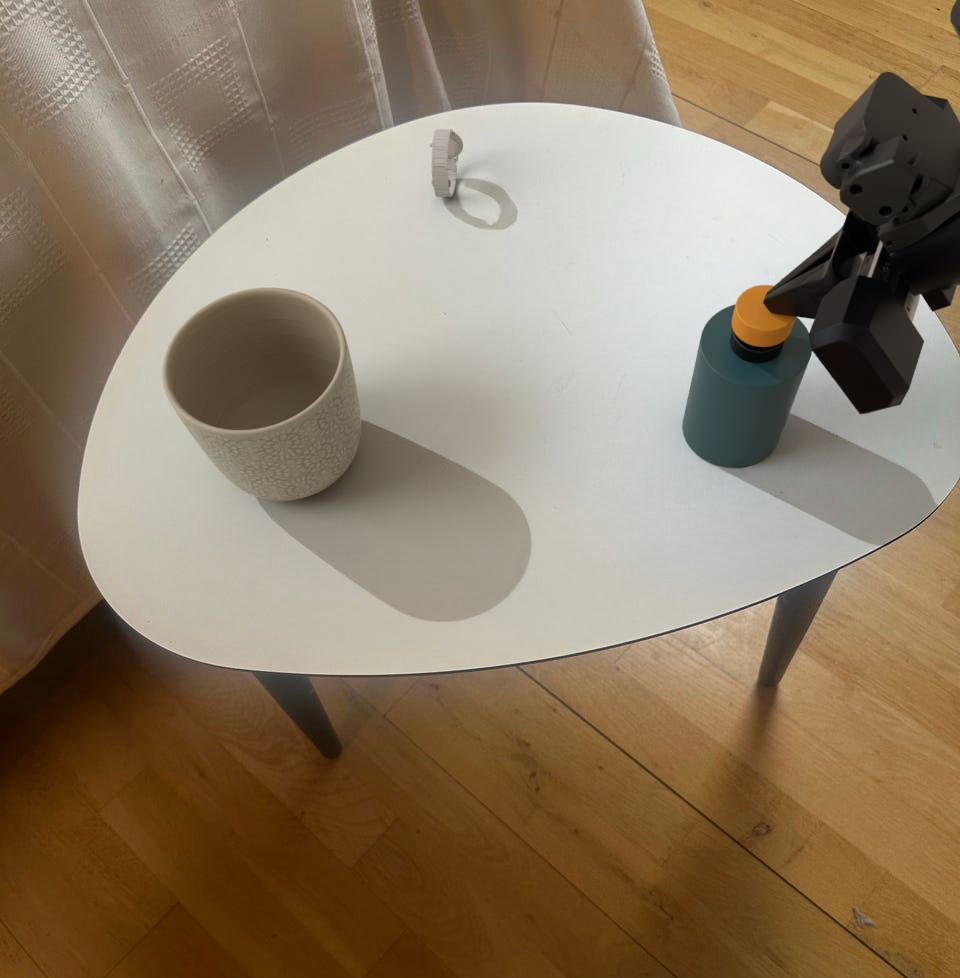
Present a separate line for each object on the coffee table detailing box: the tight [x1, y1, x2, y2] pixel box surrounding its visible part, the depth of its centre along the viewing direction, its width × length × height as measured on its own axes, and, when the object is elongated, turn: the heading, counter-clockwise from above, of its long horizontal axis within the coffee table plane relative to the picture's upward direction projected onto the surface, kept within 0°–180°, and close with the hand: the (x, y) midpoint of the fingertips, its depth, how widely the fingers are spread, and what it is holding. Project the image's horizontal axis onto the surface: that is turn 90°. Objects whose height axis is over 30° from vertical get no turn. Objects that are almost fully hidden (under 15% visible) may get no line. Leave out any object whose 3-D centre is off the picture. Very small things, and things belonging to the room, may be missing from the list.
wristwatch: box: [429, 128, 464, 198], centre depth 78 cm, size 3×5×5 cm, turn 173°
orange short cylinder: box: [732, 284, 796, 347], centre depth 57 cm, size 4×4×2 cm
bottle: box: [681, 303, 813, 469], centre depth 63 cm, size 7×7×10 cm
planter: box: [161, 287, 362, 502], centre depth 64 cm, size 12×12×11 cm
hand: (767, 303), depth 56 cm, fingers closed, pressing on orange short cylinder
